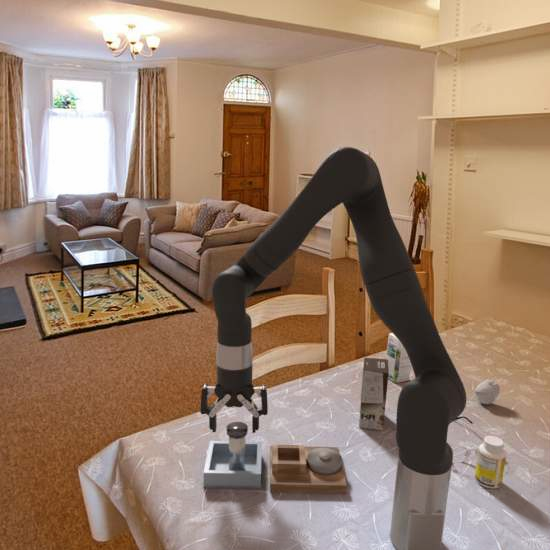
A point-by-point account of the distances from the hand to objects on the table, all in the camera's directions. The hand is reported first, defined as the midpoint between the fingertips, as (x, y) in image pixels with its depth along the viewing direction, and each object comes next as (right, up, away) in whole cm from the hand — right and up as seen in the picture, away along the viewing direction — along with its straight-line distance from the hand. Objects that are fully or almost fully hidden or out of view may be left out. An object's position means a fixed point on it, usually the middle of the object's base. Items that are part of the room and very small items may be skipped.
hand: (234, 430), depth 113 cm
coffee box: (+34, -5, +26) cm, 43 cm away
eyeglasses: (+53, -8, +17) cm, 56 cm away
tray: (0, -10, +3) cm, 10 cm away
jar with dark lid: (0, -9, +3) cm, 10 cm away
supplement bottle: (+56, -12, +2) cm, 57 cm away
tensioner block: (+16, -10, +3) cm, 19 cm away
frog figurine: (+69, -3, +37) cm, 79 cm away
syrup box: (+47, +1, +51) cm, 70 cm away
